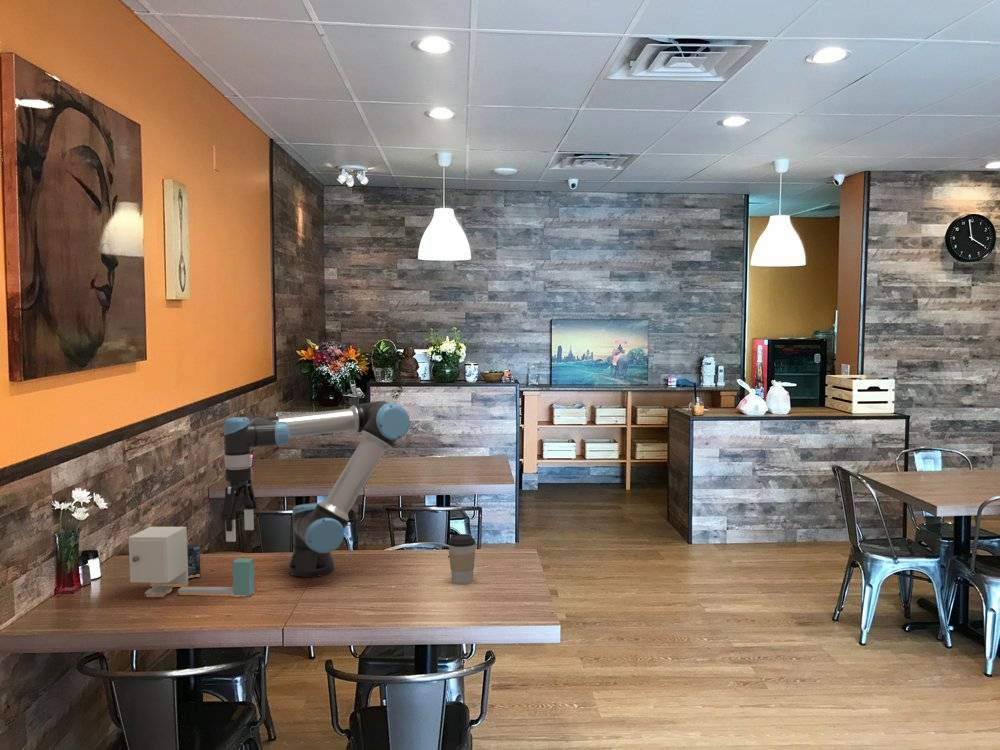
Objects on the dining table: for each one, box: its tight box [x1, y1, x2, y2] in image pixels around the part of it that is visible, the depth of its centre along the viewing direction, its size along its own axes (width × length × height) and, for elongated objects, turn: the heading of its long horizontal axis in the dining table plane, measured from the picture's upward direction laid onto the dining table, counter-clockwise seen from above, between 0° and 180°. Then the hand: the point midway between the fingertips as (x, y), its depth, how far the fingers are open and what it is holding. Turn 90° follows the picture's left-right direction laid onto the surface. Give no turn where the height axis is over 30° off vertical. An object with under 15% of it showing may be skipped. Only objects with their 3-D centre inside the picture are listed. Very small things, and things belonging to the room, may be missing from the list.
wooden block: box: [144, 586, 174, 595], centre depth 245 cm, size 6×6×2 cm
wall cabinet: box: [128, 526, 189, 585], centre depth 245 cm, size 12×14×20 cm
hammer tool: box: [177, 557, 255, 596], centre depth 244 cm, size 23×4×11 cm, turn 86°
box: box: [187, 543, 201, 576], centre depth 261 cm, size 8×6×11 cm
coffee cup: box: [447, 533, 477, 585], centre depth 254 cm, size 9×9×15 cm
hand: (240, 535), depth 243 cm, fingers open, 13 cm apart
